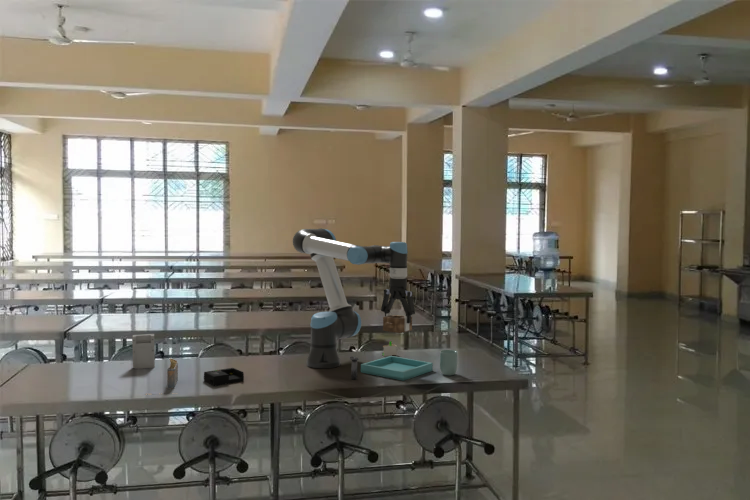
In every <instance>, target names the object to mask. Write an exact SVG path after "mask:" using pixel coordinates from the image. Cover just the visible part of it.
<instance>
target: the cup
mask: <svg viewBox="0 0 750 500" xmlns="http://www.w3.org/2000/svg"><path fill="white" fill-rule="evenodd" d="M458 365H459V352H458V350H456V349H455V350H454V349H442V350H439V369H440V373H441V374H442V375H444V376H451V377H452V376H454V375H456V374H457V372H458Z"/></svg>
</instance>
